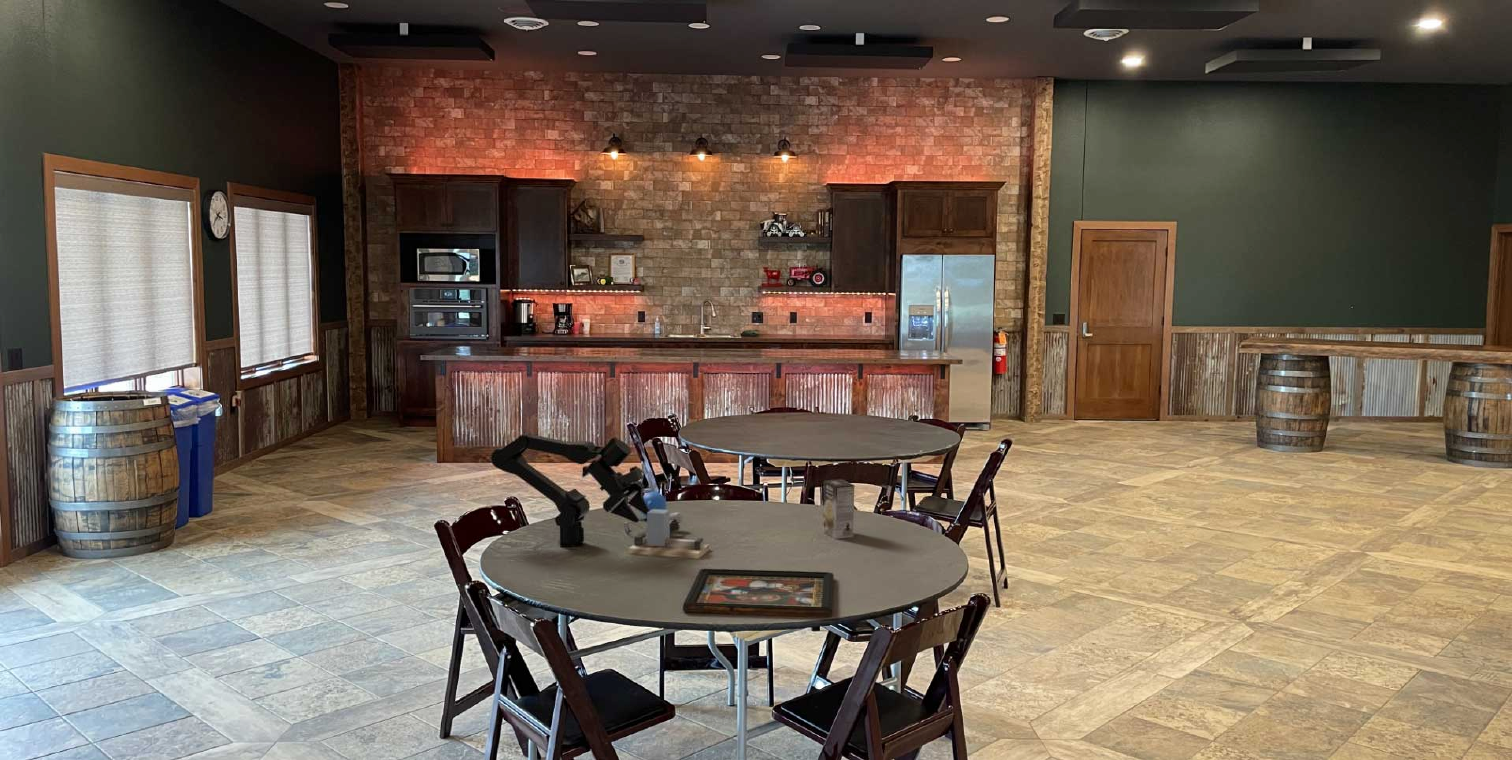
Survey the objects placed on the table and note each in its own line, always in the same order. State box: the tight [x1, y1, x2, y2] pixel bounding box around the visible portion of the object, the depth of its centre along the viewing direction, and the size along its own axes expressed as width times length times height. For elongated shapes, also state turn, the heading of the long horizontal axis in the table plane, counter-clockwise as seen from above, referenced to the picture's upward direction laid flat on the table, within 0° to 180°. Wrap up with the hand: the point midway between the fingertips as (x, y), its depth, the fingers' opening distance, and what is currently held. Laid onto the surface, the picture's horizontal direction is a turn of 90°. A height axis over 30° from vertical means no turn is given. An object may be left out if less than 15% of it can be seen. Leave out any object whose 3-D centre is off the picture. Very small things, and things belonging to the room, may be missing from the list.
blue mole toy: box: [628, 491, 667, 518], centre depth 339 cm, size 12×12×8 cm
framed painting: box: [682, 568, 835, 618], centre depth 260 cm, size 38×35×3 cm
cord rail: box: [628, 533, 710, 560], centre depth 299 cm, size 20×11×4 cm, turn 75°
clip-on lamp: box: [623, 511, 683, 533], centre depth 320 cm, size 12×6×18 cm
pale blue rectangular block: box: [646, 509, 671, 546], centre depth 299 cm, size 5×5×9 cm
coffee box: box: [822, 478, 855, 540], centre depth 318 cm, size 9×6×16 cm
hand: (643, 517), depth 300 cm, fingers open, 9 cm apart
